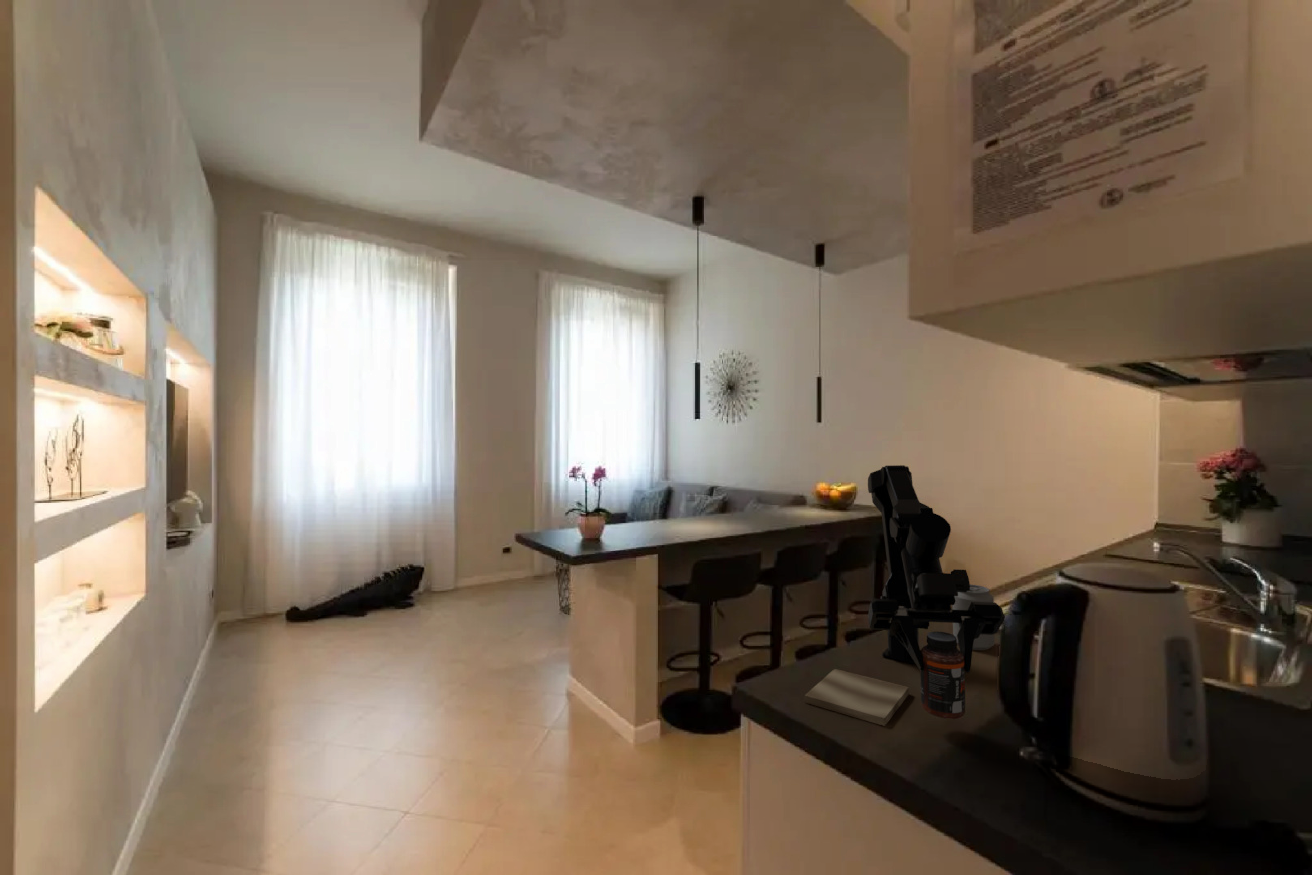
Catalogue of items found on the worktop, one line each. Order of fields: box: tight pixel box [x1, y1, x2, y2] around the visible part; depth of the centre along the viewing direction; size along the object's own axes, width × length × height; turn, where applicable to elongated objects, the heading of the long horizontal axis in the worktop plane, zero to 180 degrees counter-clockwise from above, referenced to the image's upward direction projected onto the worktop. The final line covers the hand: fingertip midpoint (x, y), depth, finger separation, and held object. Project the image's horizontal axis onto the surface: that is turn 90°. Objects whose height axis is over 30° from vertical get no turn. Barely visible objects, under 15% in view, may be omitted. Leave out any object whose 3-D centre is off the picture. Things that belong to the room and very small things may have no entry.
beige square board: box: [804, 668, 910, 727], centre depth 96 cm, size 13×13×1 cm
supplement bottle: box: [919, 631, 966, 720], centre depth 85 cm, size 6×6×11 cm
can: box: [952, 583, 996, 651], centre depth 117 cm, size 8×8×12 cm
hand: (944, 670), depth 83 cm, fingers closed on supplement bottle, 6 cm apart
